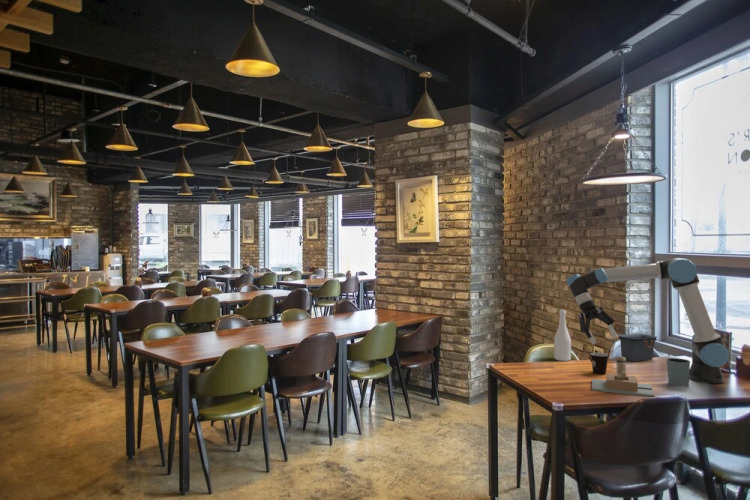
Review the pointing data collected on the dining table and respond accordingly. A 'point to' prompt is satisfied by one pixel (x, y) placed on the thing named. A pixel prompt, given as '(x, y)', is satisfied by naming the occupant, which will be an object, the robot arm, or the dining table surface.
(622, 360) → the round peg
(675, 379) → the grey-green tapered pot
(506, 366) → the dining table surface
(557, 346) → the wine bottle
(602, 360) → the coffee mug
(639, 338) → the storage bin
